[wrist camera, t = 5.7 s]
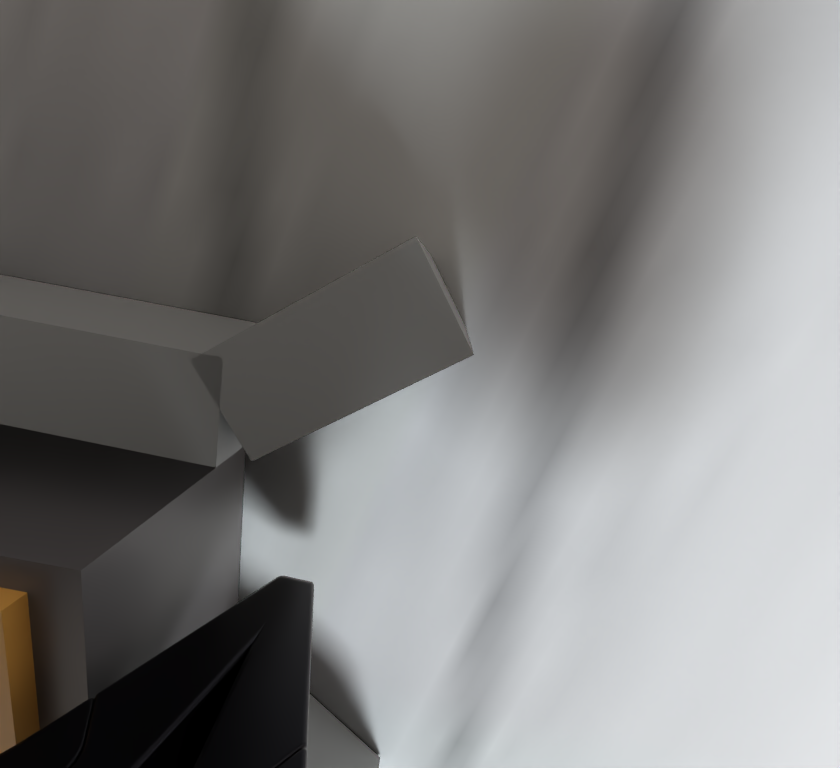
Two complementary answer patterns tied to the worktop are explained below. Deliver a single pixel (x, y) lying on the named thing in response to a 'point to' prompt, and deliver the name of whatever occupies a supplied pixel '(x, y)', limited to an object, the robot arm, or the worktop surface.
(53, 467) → the grey rectangular block
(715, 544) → the worktop surface
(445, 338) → the grey blocky piece
